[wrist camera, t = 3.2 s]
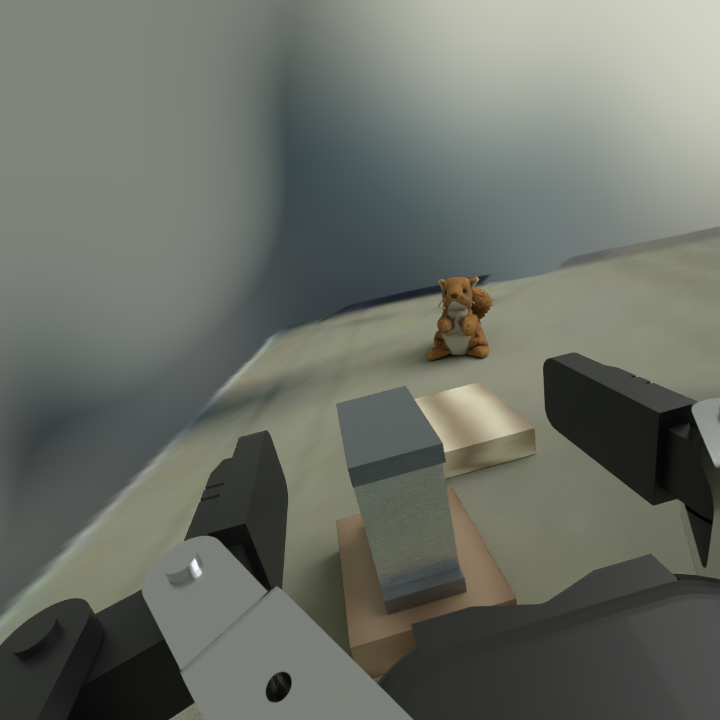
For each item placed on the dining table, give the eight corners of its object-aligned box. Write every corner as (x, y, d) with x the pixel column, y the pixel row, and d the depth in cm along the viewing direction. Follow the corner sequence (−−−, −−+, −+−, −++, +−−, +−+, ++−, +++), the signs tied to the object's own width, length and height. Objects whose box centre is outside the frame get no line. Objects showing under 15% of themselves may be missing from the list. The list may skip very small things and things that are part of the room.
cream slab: (482, 402, 49) (480, 381, 48) (535, 453, 38) (534, 428, 36) (393, 426, 48) (389, 405, 47) (420, 485, 37) (415, 460, 36)
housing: (428, 506, 30) (405, 385, 26) (467, 591, 23) (442, 443, 19) (368, 523, 30) (336, 403, 26) (387, 615, 23) (347, 468, 19)
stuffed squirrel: (425, 363, 65) (413, 288, 61) (448, 334, 76) (439, 269, 72) (484, 363, 60) (475, 281, 55) (500, 332, 71) (494, 262, 66)
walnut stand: (457, 516, 32) (452, 488, 31) (519, 632, 23) (516, 598, 22) (344, 548, 32) (336, 520, 31) (360, 680, 22) (349, 648, 21)
